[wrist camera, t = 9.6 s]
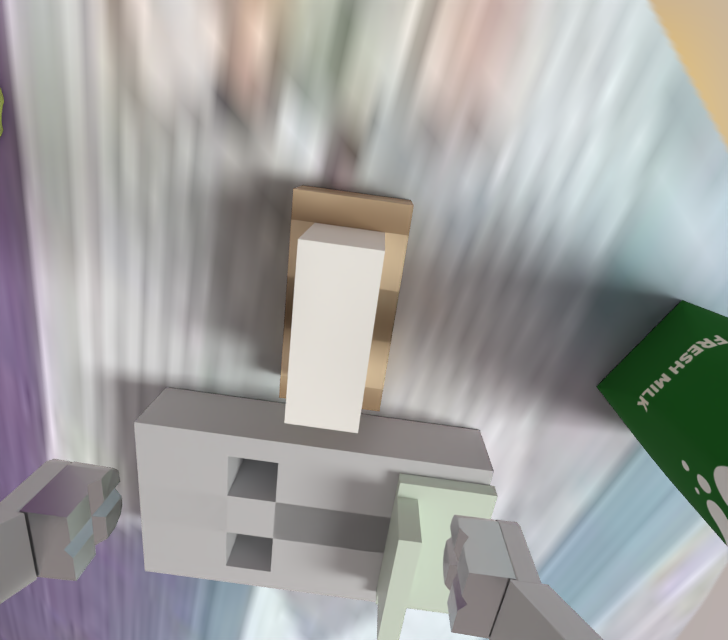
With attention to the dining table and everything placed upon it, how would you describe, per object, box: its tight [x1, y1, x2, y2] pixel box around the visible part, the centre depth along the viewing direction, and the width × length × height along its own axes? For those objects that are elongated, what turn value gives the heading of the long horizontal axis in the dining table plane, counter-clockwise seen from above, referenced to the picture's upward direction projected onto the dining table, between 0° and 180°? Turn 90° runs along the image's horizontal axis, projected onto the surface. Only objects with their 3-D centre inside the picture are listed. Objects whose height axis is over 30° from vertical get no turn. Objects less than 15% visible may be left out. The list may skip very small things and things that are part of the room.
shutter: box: [376, 473, 497, 640], centre depth 25 cm, size 10×6×4 cm, turn 173°
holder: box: [279, 185, 414, 411], centre depth 25 cm, size 12×6×2 cm, turn 173°
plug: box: [284, 223, 385, 433], centre depth 23 cm, size 9×4×7 cm, turn 173°
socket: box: [134, 387, 494, 602], centre depth 29 cm, size 12×21×4 cm, turn 83°
